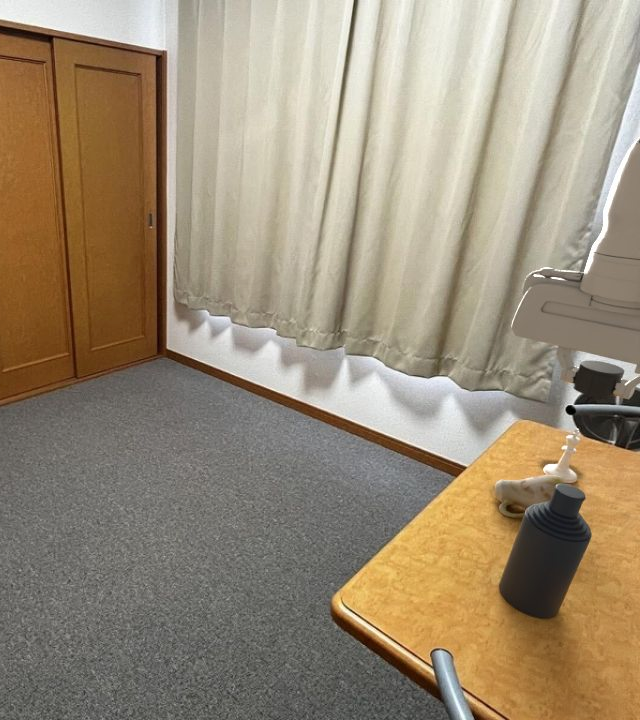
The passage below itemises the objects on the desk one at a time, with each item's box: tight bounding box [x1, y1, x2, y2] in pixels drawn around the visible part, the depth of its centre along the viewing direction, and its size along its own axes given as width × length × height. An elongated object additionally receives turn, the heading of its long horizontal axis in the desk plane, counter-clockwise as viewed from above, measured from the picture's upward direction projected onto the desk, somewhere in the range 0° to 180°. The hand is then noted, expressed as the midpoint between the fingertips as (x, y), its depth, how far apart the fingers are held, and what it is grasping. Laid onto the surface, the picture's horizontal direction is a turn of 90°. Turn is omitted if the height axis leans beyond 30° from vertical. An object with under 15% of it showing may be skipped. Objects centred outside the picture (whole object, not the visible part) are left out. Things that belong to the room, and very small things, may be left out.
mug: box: [494, 474, 564, 519], centre depth 79 cm, size 8×10×10 cm
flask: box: [498, 483, 593, 620], centre depth 61 cm, size 7×7×18 cm
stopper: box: [572, 359, 625, 399], centre depth 59 cm, size 4×4×3 cm
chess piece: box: [543, 427, 581, 484], centre depth 87 cm, size 5×5×10 cm
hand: (594, 388), depth 59 cm, fingers closed on stopper, 4 cm apart
